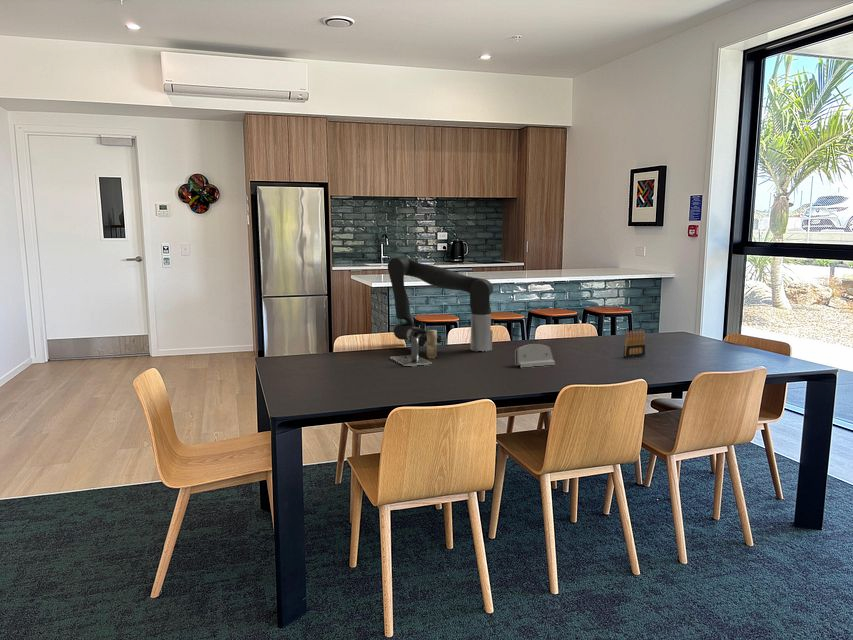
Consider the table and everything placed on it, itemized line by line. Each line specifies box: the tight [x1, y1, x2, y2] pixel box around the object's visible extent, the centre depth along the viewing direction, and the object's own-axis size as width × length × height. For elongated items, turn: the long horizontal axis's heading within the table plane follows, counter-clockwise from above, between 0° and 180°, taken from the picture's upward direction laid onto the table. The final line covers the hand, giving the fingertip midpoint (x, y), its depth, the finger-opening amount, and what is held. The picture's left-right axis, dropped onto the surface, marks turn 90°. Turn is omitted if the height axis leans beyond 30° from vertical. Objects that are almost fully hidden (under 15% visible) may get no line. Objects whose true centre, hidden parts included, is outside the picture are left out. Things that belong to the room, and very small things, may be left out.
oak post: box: [426, 329, 438, 359], centre depth 274 cm, size 4×4×12 cm
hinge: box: [514, 343, 556, 369], centre depth 260 cm, size 17×5×10 cm, turn 110°
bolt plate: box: [390, 338, 433, 367], centre depth 265 cm, size 12×18×11 cm, turn 23°
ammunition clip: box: [623, 328, 646, 358], centre depth 278 cm, size 11×2×12 cm, turn 113°
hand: (430, 341), depth 275 cm, fingers open, 8 cm apart
